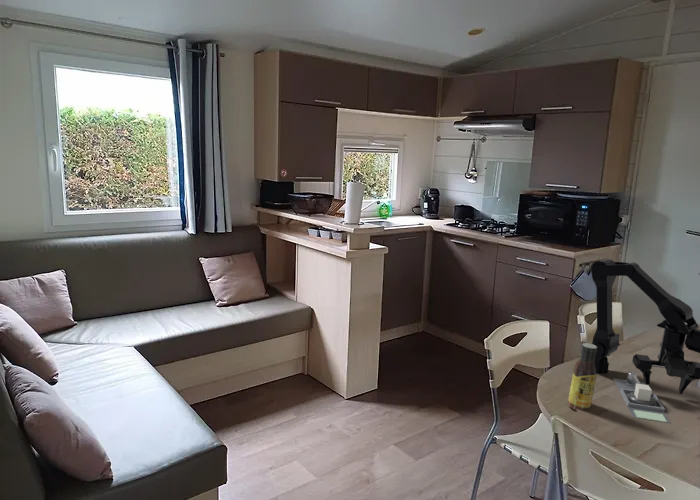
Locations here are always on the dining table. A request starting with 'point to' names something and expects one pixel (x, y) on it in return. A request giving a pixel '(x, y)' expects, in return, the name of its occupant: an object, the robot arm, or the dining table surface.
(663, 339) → the robot arm
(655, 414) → the socket base
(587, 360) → the sauce bottle
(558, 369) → the dining table surface
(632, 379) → the pivoting lever handle
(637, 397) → the plug
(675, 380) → the dining table surface
